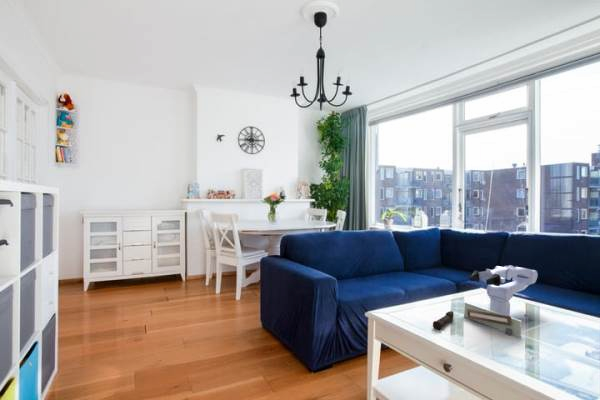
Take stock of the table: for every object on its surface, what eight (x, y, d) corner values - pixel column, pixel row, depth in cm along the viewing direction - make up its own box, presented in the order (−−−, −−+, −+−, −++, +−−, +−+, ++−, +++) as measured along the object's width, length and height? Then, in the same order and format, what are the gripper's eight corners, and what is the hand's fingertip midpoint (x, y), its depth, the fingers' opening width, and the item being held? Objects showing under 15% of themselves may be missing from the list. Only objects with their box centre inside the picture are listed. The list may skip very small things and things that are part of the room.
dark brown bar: (440, 331, 147) (441, 321, 147) (432, 328, 150) (432, 318, 150) (458, 321, 160) (459, 312, 160) (450, 319, 163) (450, 309, 163)
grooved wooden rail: (469, 317, 163) (468, 309, 164) (511, 325, 146) (510, 316, 147) (468, 317, 163) (467, 309, 163) (510, 325, 146) (509, 316, 146)
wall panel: (465, 315, 167) (466, 302, 167) (520, 336, 145) (521, 320, 145) (460, 316, 166) (461, 303, 165) (516, 338, 143) (517, 322, 143)
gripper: (478, 265, 170) (463, 269, 162) (509, 270, 158) (494, 274, 150) (479, 279, 170) (464, 283, 162) (509, 285, 158) (494, 290, 150)
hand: (478, 280), depth 156 cm, fingers open, 7 cm apart
